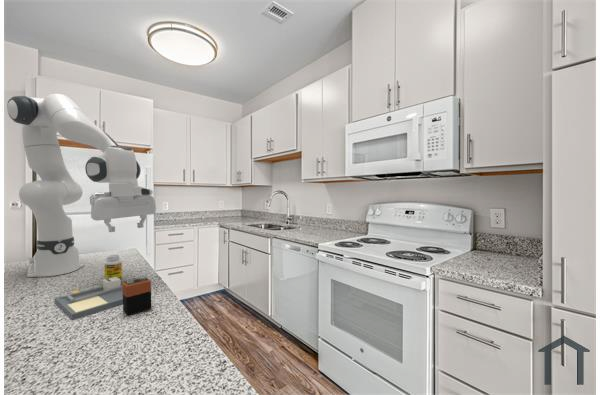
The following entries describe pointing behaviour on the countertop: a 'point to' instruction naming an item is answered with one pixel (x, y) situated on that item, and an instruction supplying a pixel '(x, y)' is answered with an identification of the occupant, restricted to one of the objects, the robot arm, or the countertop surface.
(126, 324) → the countertop surface
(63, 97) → the robot arm
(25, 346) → the countertop surface
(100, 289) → the board
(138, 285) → the battery
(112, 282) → the block
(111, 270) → the supplement bottle
